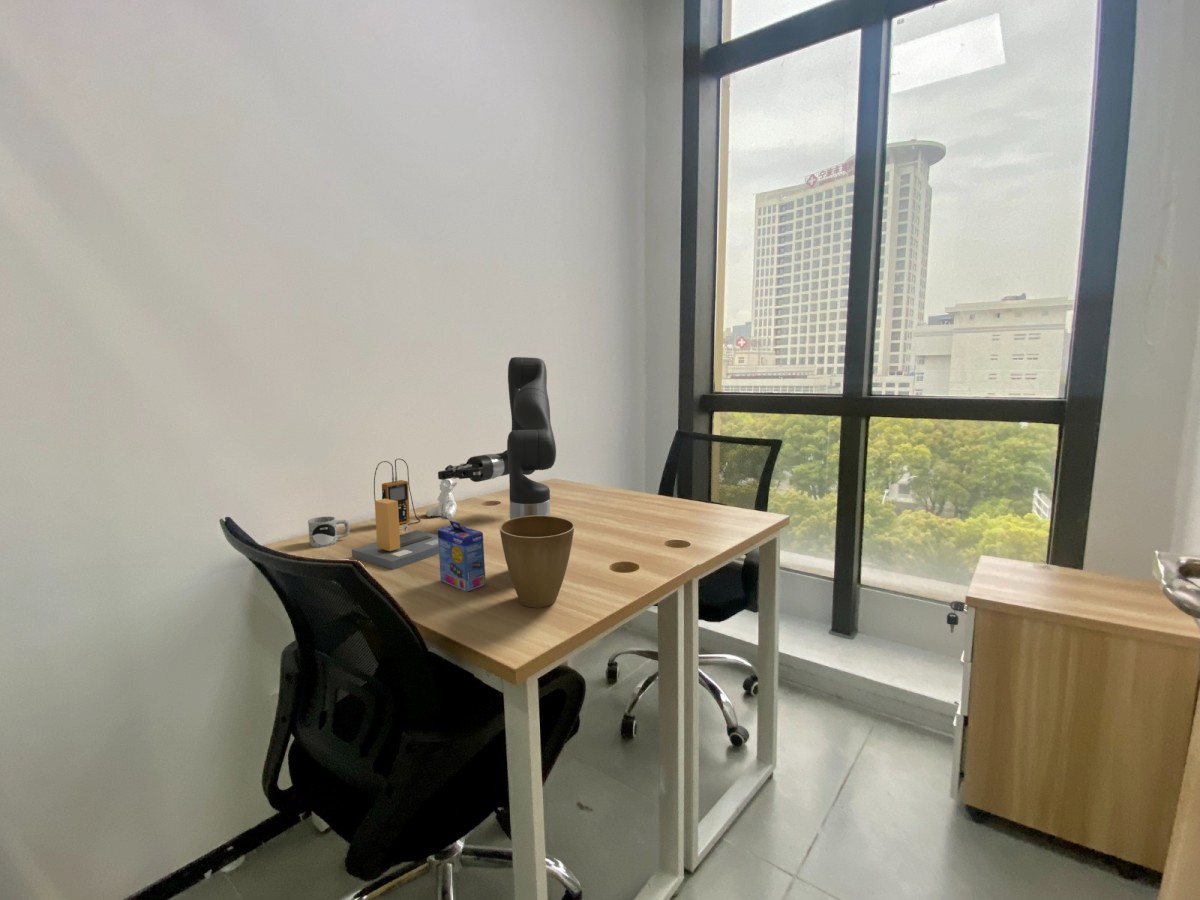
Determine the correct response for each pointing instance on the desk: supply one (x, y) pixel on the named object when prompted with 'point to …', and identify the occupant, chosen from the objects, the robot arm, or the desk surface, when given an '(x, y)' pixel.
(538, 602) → the plant pot
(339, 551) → the desk surface
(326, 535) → the mug
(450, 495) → the white creature statuette
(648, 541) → the desk surface
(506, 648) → the desk surface
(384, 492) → the multimeter
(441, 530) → the ink cartridge box
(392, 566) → the switch panel
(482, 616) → the desk surface
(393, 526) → the switch tab
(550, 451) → the robot arm
